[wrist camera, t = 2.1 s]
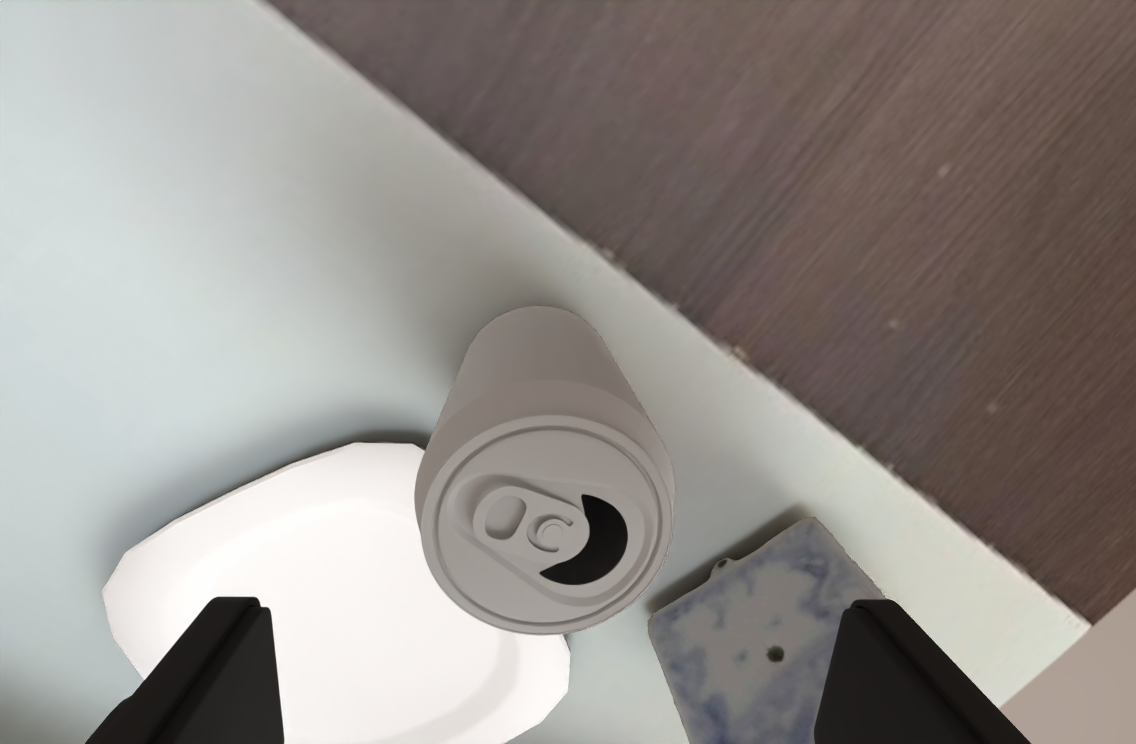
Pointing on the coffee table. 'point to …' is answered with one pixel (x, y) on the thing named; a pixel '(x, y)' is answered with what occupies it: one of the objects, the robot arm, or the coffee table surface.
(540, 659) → the plate
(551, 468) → the beverage can
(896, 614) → the robot arm
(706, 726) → the incense holder
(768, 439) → the coffee table surface
